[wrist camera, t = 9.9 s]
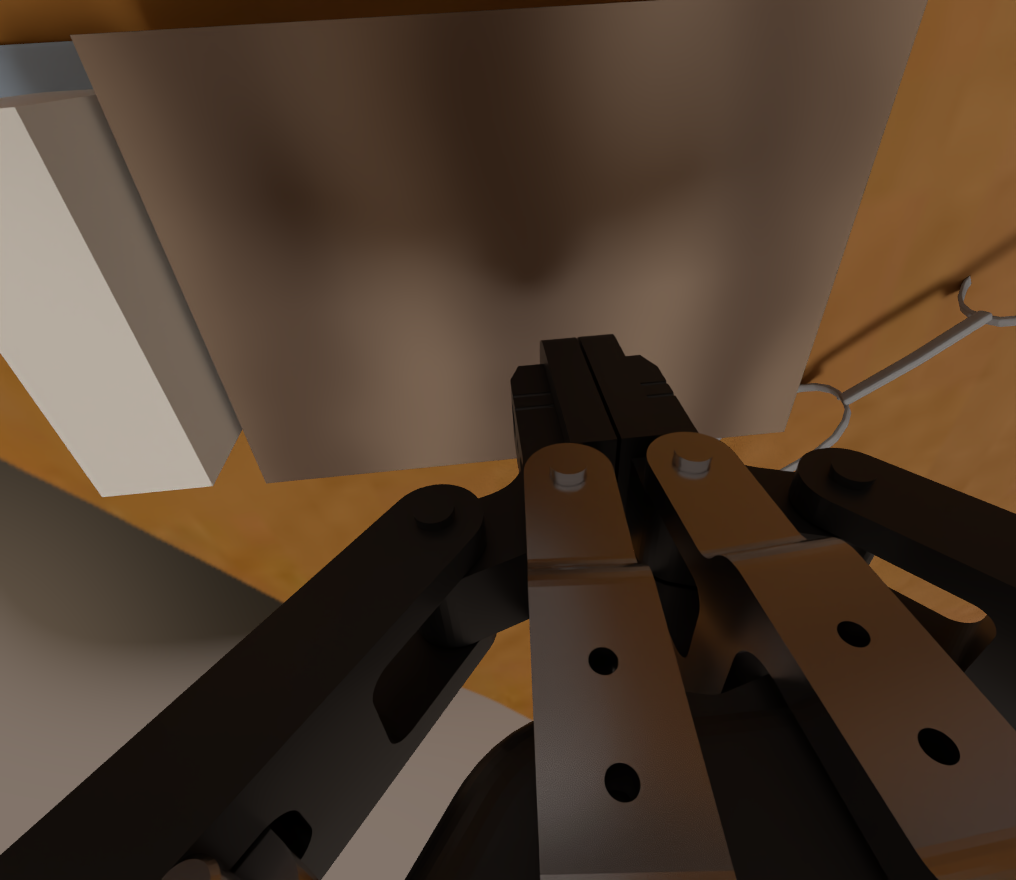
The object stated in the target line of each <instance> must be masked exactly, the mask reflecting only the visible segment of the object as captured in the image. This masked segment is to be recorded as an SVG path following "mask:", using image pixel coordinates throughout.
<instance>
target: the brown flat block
mask: <svg viewBox="0 0 1016 880" xmlns="http://www.w3.org/2000/svg"><path fill="white" fill-rule="evenodd" d="M927 1H928V0H655V1H638V2H621V3H604V4H587V5H570V6H554V7H537V8H520V9H503V10H486V11H469V12H452V13H435V14H418V15H401V16H384V17H367V18H351V19H334V20H317V21H300V22H283V23H266V24H249V25H232V26H215V27H198V28H181V29H164V30H148V31H131V32H114V33H97V34H80V35H70V37H71V39H72V41H73V44H74V46H75V48H76V50H77V53H78V55H79V57H80V60H81V62H82V64H83V66H84V69H85V71H86V73H87V75H88V78H89V80H90V82H91V85H92V87H93V89H94V91H95V94H96V96H97V98H98V101H99V103H100V105H101V107H102V110H103V112H104V114H105V117H106V119H107V121H108V123H109V126H110V128H111V130H112V133H113V135H114V137H115V139H116V142H117V144H118V146H119V148H120V151H121V153H122V155H123V158H124V160H125V162H126V164H127V167H128V169H129V171H130V174H131V176H132V178H133V180H134V183H135V185H136V187H137V190H138V192H139V194H140V196H141V199H142V201H143V203H144V206H145V208H146V210H147V212H148V215H149V217H150V219H151V221H152V224H153V226H154V228H155V231H156V233H157V235H158V237H159V240H160V242H161V244H162V247H163V249H164V251H165V253H166V256H167V258H168V260H169V263H170V265H171V267H172V269H173V272H174V274H175V276H176V279H177V281H178V283H179V285H180V288H181V290H182V292H183V294H184V297H185V299H186V301H187V304H188V306H189V308H190V310H191V313H192V315H193V317H194V320H195V322H196V324H197V326H198V329H199V331H200V333H201V336H202V338H203V340H204V342H205V345H206V347H207V349H208V352H209V354H210V356H211V358H212V361H213V363H214V365H215V367H216V370H217V372H218V374H219V377H220V379H221V381H222V383H223V386H224V388H225V390H226V393H227V395H228V397H229V399H230V402H231V404H232V406H233V409H234V411H235V413H236V415H237V418H238V420H239V422H240V425H241V427H242V429H243V431H244V434H245V436H246V438H247V440H248V443H249V445H250V447H251V450H252V452H253V454H254V456H255V459H256V461H257V463H258V466H259V468H260V470H261V472H262V475H263V477H264V479H265V482H266V483H274V482H284V481H294V480H304V479H314V478H324V477H334V476H344V475H354V474H364V473H374V472H384V471H394V470H404V469H414V468H424V467H434V466H444V465H454V464H464V463H474V462H484V461H494V460H504V459H514V458H517V455H516V448H515V442H514V430H513V415H512V399H511V384H510V380H511V378H512V376H513V374H514V373H515V371H516V369H517V367H518V366H524V365H535V364H540V341H541V340H550V339H561V338H572V337H576V338H577V337H582V336H593V335H604V334H614V336H615V337H616V339H617V341H618V343H619V345H620V347H621V348H622V350H623V352H624V354H625V356H632V355H641V356H643V357H644V358H646V359H647V360H649V361H650V362H652V363H653V364H655V365H656V366H658V368H659V369H660V371H661V373H662V374H663V376H664V377H665V379H666V383H667V384H669V386H670V387H671V389H672V390H673V392H674V396H676V397H677V399H678V400H679V402H680V403H681V405H682V407H683V408H684V410H685V412H686V413H687V415H688V416H689V418H690V420H691V421H692V423H693V425H694V426H695V428H696V429H697V431H698V433H700V434H704V435H708V436H711V437H713V438H725V437H735V436H745V435H755V434H765V433H775V432H784V430H785V427H786V424H787V421H788V418H789V415H790V412H791V409H792V406H793V403H794V400H795V397H796V394H797V391H798V388H799V385H800V382H801V379H802V376H803V373H804V370H805V367H806V364H807V361H808V358H809V355H810V352H811V349H812V346H813V343H814V340H815V337H816V334H817V331H818V328H819V325H820V322H821V319H822V316H823V313H824V310H825V307H826V304H827V301H828V298H829V295H830V292H831V289H832V286H833V283H834V280H835V277H836V274H837V271H838V268H839V265H840V262H841V259H842V256H843V253H844V250H845V247H846V244H847V241H848V238H849V235H850V232H851V229H852V226H853V223H854V220H855V217H856V214H857V211H858V208H859V205H860V202H861V199H862V196H863V193H864V190H865V187H866V184H867V181H868V178H869V175H870V172H871V169H872V166H873V163H874V160H875V157H876V154H877V151H878V148H879V145H880V142H881V139H882V136H883V133H884V130H885V127H886V124H887V121H888V118H889V115H890V112H891V109H892V106H893V103H894V100H895V97H896V94H897V91H898V88H899V85H900V82H901V79H902V76H903V73H904V70H905V67H906V64H907V61H908V58H909V55H910V52H911V49H912V46H913V43H914V40H915V37H916V34H917V31H918V28H919V25H920V22H921V19H922V16H923V13H924V10H925V7H926V4H927Z"/></svg>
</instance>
